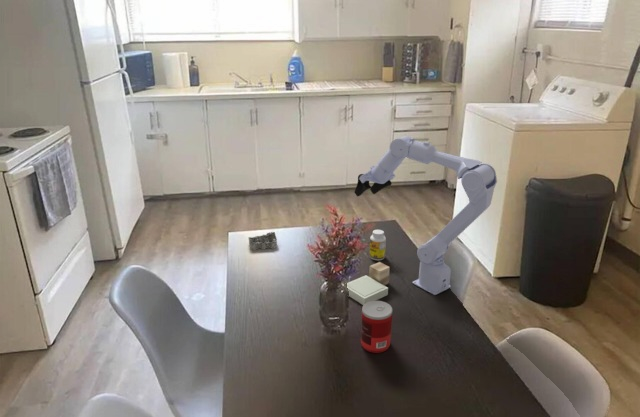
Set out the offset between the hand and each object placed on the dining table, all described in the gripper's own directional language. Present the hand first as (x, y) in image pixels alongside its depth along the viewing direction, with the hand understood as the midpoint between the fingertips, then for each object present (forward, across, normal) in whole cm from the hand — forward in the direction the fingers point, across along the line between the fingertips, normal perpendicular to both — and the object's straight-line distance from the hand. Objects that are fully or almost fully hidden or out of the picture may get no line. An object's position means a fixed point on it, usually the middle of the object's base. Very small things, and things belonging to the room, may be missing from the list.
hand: (364, 193), depth 159 cm
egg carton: (+42, +17, -10) cm, 46 cm away
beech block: (+12, +4, +27) cm, 30 cm away
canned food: (+2, +27, +46) cm, 54 cm away
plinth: (+12, +12, +29) cm, 34 cm away
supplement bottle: (+19, -8, +16) cm, 26 cm away
